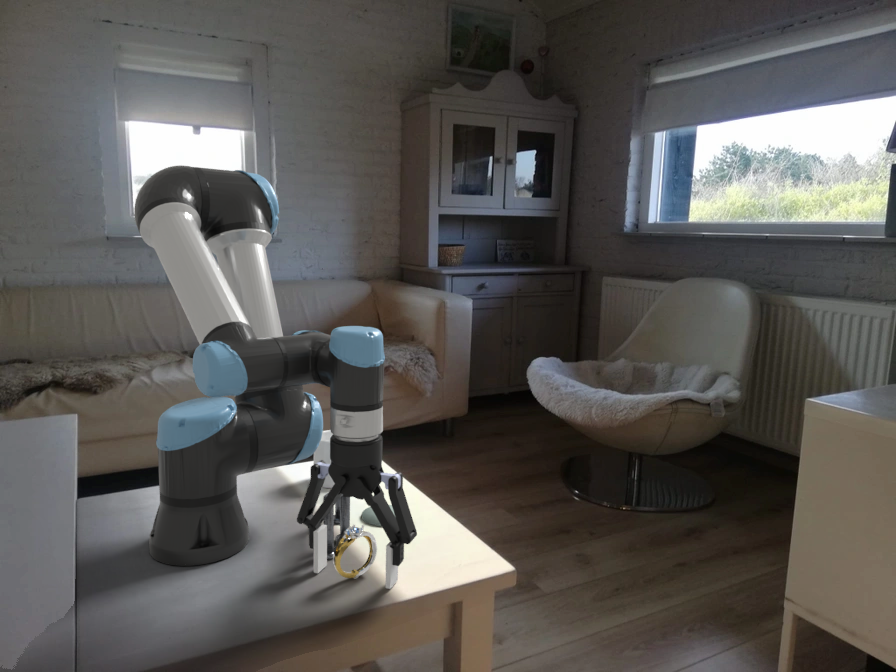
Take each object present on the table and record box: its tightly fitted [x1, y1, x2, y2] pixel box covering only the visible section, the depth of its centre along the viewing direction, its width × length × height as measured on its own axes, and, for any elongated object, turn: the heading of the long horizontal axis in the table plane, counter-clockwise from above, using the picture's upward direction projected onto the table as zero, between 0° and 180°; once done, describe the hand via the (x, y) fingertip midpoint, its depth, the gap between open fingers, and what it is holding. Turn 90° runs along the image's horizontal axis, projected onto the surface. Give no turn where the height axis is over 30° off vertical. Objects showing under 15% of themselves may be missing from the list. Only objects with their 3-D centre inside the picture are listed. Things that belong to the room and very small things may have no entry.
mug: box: [313, 429, 335, 489], centre depth 133 cm, size 8×12×10 cm
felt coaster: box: [361, 504, 395, 527], centre depth 118 cm, size 8×8×1 cm
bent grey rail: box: [322, 491, 351, 561], centre depth 109 cm, size 8×15×10 cm, turn 161°
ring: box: [332, 524, 378, 580], centre depth 96 cm, size 7×3×8 cm, turn 124°
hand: (355, 576), depth 97 cm, fingers open, 11 cm apart
